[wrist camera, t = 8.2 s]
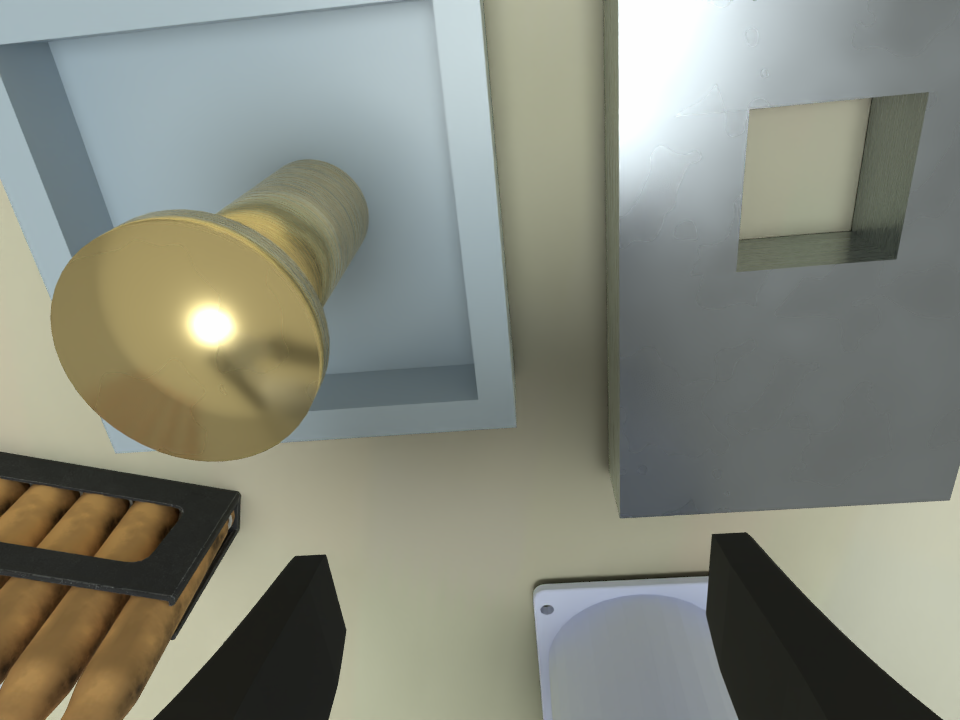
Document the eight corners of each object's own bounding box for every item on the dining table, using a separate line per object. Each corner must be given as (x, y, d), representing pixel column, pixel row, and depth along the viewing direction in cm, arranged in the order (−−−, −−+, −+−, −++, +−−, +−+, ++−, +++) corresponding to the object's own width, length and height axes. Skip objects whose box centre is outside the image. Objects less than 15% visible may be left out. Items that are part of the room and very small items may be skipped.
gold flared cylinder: (405, 281, 20) (342, 453, 12) (258, 293, 20) (106, 468, 12) (379, 124, 18) (284, 209, 10) (217, 140, 18) (5, 236, 10)
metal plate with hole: (906, 452, 23) (949, 500, 21) (608, 470, 23) (619, 518, 21) (1095, -356, 14) (1210, -428, 11) (599, -287, 14) (617, -341, 12)
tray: (514, 376, 22) (516, 427, 19) (161, 401, 23) (115, 453, 20) (478, -53, 16) (474, -65, 14) (14, 2, 17) (-75, 0, 15)
